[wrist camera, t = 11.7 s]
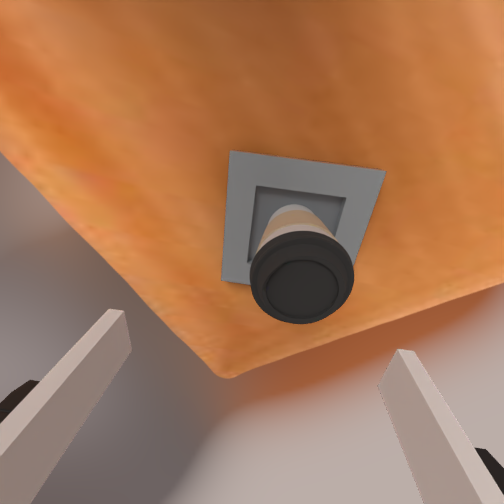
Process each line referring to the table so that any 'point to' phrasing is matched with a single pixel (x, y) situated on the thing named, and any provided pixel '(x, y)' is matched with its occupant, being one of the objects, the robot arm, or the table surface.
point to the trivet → (292, 202)
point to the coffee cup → (300, 268)
